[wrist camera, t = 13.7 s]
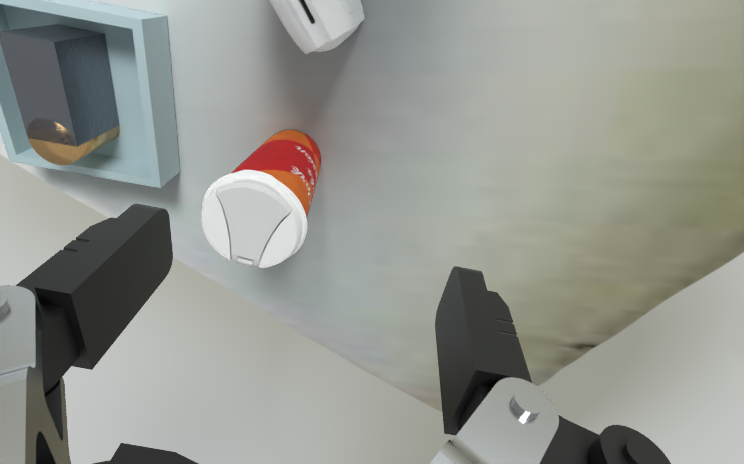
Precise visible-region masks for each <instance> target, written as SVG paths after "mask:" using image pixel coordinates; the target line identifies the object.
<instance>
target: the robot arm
mask: <svg viewBox="0 0 744 464" xmlns="http://www.w3.org/2000/svg"><path fill="white" fill-rule="evenodd" d="M172 259H173V252H172V242H171V231H170V221H169V214H168V212H167V210H165V209H162V208H157V207H151V206H146V205H141V204H134V205H132V206H131V207H129V208H128V209H127V210H126V211H125V212H123V213H122V214H121V215H120V216H119V217H118V218H109V219H107V220H104V221H102V222H100V223H97V224H95V225H93V226H90V227H89V228H88V229H87V230H85V231H84V232H83V233H82V234H80V235H79V236H78V237H76V240H73V241H72V242H70V243H69V244H68V245H66V246H65V247H64V250H60V251H59V252H58V253H56V254H55V255H54V256H52V257H51V258H50V259H49V260H47V261H46V262H45V263H44V264H42V265H41V266H40V267H39V268H37V269H36V270H35V271H34V272H32V273H31V274H30V275H29V276H28V277H26V278H25V279H23V280H22V281H21V282H20V283H18V284H17V285H16V286H9V285H7V286H0V464H71V461H70V456H69V447H68V431H67V416H66V401H65V384H64V380H63V378H62V376H63V375H64V374H65V373H66V371H67V370H68V369H69V368H70V367H71V366H75V367H80V368H86V369H93V368H94V366H95V365H96V364H97V363H98V361H99V360H100V359H101V358H102V356H103V355H104V354H105V353H106V351H107V350H108V349H109V348H110V346H111V345H112V344H113V343H114V341H115V340H116V339H117V337H118V336H119V335H120V334H121V333H122V331H123V330H124V329H125V328H126V326H127V325H128V324H129V323H130V321H131V320H132V319H133V318H134V316H135V315H136V314H137V312H138V311H139V310H140V309H141V307H142V306H143V305H144V304H145V303H146V301H147V300H148V299H149V297H150V296H151V295H152V294H153V293H154V291H155V290H156V289H157V287H158V286H159V285H160V284H161V282H162V281H163V280H164V279H165V277H166V276H167V274H168V272H169V270H170V268H171V265H172ZM512 323H513V320H512V317H511V314H510V311H509V308H508V306H507V305H506V303H505V302H504V301H503V300H502V298H501V297H500V296H499V294H498V293H497V292H492V291H487V288H486V284H485V281H484V277H483V274H482V272H481V271H477V270H472V269H467V268H462V267H456V266H455V267H454V268H453V269H452V271H451V273H450V276H449V279H448V281H447V284H446V287H445V289H444V292H443V295H442V298H441V300H440V303H439V306H438V309H437V314H436V321H435V330H436V342H437V353H438V365H439V376H440V388H441V399H442V411H443V422H444V433H445V434H451V435H456V436H455V438H454V439H453V440H452V441H451V440H449V441H448V442H447V443H446V444H445V445H444V446H443V447H442V448H441V450H440V451H439V452H438V453H437V455H436V456H435V457H434V458H433V460H432V461H431V462H430V464H671V463H670V461H669V460H668V458H667V457H666V456H665V454H664V453H663V452H662V451H661V450H660V449H659V448H658V447H657V446H656V445H655V444H654V443H653V442H652V441H651V440H650V439H648V438H647V437H645V436H644V435H642V434H641V433H639V432H638V431H636V430H633V429H631V428H629V427H625V426H621V425H612V426H608V427H607V428H605V429H604V430H603V432H602V433H601V434H600V435H598V434H596V433H593V432H591V431H589V430H587V429H585V428H583V427H581V426H579V425H577V424H574V423H572V422H570V421H568V420H566V419H564V418H562V417H561V416H559V415H558V413H557V410H556V407H555V405H554V404H553V402H552V401H551V399H550V398H549V397H548V396H547V394H545V393H544V392H543V391H542V390H541V389H540V388H539V387H537V386H536V385H534V384H532V381H531V378H530V375H529V371H528V368H527V365H526V362H525V359H524V356H523V352H522V349H521V346H520V343H519V340H518V337H516V334H517V333H516V330H515V327H514V324H512ZM94 464H198V463H196V462H194V461H192V460H190V459H188V458H186V457H184V456H182V455H180V454H178V453H176V452H171V451H165V450H159V449H153V448H147V447H142V446H136V445H130V444H124V443H121V444H120V446H119V448H118V449H117V451H116V452H115V454H114V456H113V457H112V459H111V460H110V461H104V462H99V463H94Z"/></svg>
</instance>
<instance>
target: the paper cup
mask: <svg viewBox="0 0 744 464" xmlns="http://www.w3.org/2000/svg"><path fill="white" fill-rule="evenodd" d="M320 164H321V156H320V151H319V149H318V147H317V145H316V143H315V142H314V141H313V140H312V139H311V138H310V137H309V136H307V135H306V134H304V133H302V132H299V131H296V130H284V131H281V132H278V133H276V134H275V135H273V136H272V137H271V138H270V139H268V140H267V141H266V142H265V143H264V144H263V145H261V146H260V147H259V148H258V149H257V150H256V151H255V152H254V153H253V154H251V155H250V156H249V157H248V158H247V159H246V160H245V161H244V162H243V163H242V164H240V165H239V166H238V167H237V168H236V169H235V170H234V171H233V172H232V173H231V174H227V175H225V176H223V177H221V178H219V179H218V180H216V181H215V182H214V183H213V184H212V185H211V186H210V187H209V188H208V190H207V192H206V193H205V196H204V198H203V203H202V226H203V230H204V233H205V236H206V238H207V239H208V241H209V243H210V244H211V245H212V247H213V248H214V249H215V250H216V251H217V252H218V253H219V254H221V255H222V256H223V257H225V258H226V259H228V260H231V259H232V260H236V261H237V263H240V264H244V265H248V266H252V265H255V266H259V268H266V267H271V266H274V265H277V264H279V263H281V262H283V261H284V260H285V259H287V258H289V257H291V256H292V255H293V254H295V253H296V252H297V251H298V250H299V248H300V247H301V246H302V244H303V242H304V240H305V237H306V234H307V215H308V211H309V207H310V204H311V200H312V197H313V193H314V189H315V185H316V182H317V178H318V174H319V170H320Z"/></svg>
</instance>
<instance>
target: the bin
mask: <svg viewBox="0 0 744 464" xmlns="http://www.w3.org/2000/svg"><path fill="white" fill-rule="evenodd" d="M54 24H59V25H64V26H70V27H75V28H80V29H85V30H90V31H96V32H101V33H105V36H106V43H107V49H108V55H109V61H110V68H111V74H112V80H113V86H114V93H115V99H116V105H117V111H118V118H119V124H120V132H119V135H118V136H117V138H116V139H114V140H113V141H111V142H109V143H107V144H105V145H103V146H102V147H100V148H98V149H96V150H94V151H93V152H91V153H89V154H87V155H85V156H84V157H82V158H80V159H78V160H76V161H75V162H73V163H71V164H68V165H56V164H53V163H50V162H48V161H47V160H45V159H43V158H42V157H41V156H39V155H38V154H37V153H36V152H35V150H34V149H33V148H32V146H31V145H30V143H29V140H28V137H27V134H26V130H25V127H24V123H23V120H22V116H21V113H20V109H19V106H18V102H17V99H16V95H15V92H14V88H13V85H12V81H11V78H10V74H9V71H8V68H7V64H6V61H5V57H4V54H3V50H2V47H1V43H0V132H1V135H2V138H3V141H4V145H5V148H6V151H7V154H8V157H9V160H10V162H16V163H21V164H27V165H33V166H38V167H44V168H49V169H55V170H61V171H66V172H72V173H78V174H83V175H89V176H95V177H100V178H106V179H112V180H117V181H123V182H129V183H134V184H140V185H146V186H151V187H157V188H162V187H163V186H164V185H165V184H166V183H167V182H169V181H170V180H171V179H172V178H173V177H174V176H176V175H177V174H178V173H179V172H180V164H179V152H178V140H177V128H176V117H175V105H174V93H173V81H172V70H171V58H170V46H169V34H168V23H167V16H165V15H160V14H155V13H149V12H144V11H139V10H134V9H129V8H124V7H119V6H113V5H108V4H103V3H98V2H93V1H88V0H0V31H5V30H13V29H21V28H29V27H37V26H46V25H54Z"/></svg>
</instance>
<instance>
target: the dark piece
mask: <svg viewBox="0 0 744 464" xmlns="http://www.w3.org/2000/svg"><path fill="white" fill-rule="evenodd" d="M0 43H1V47H2V50H3V54H4V57H5V61H6V64H7V68H8V71H9V74H10V78H11V81H12V85H13V88H14V92H15V95H16V99H17V102H18V106H19V109H20V113H21V116H22V120H23V123H24V127H25V130H26V134H27V137H28V140H29V143H30V145H31V146H32V148H33V149H34V150H35V152H36V153H37V154H38V155H39V156H41V157H42V158H43V159H45V160H47V161H48V162H50V163H53V164H56V165H68V164H71V163H73V162H75V161H76V160H78V159H80V158H82V157H84V156H85V155H87V154H89V153H91V152H93V151H94V150H96V149H98V148H100V147H102V146H103V145H105V144H107V143H109V142H111V141H113V140H114V139H116V138H117V136H118V135H119V132H120V124H119V118H118V111H117V105H116V99H115V93H114V86H113V80H112V74H111V68H110V61H109V55H108V49H107V43H106V36H105V33H101V32H96V31H90V30H85V29H80V28H75V27H70V26H64V25H59V24H54V25H46V26H37V27H29V28H21V29H13V30H5V31H0Z"/></svg>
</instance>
